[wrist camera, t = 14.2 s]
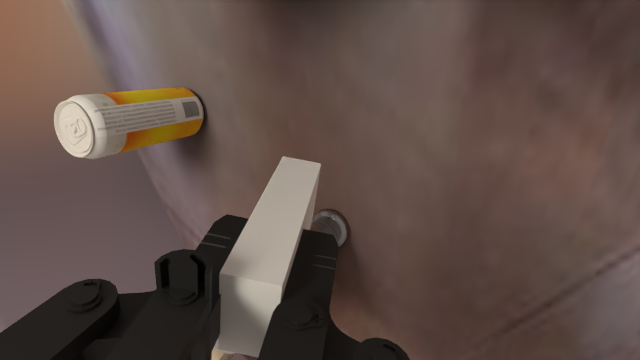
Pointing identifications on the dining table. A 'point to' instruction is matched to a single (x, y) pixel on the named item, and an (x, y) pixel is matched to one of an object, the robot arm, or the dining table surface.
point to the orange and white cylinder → (126, 120)
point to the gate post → (323, 223)
